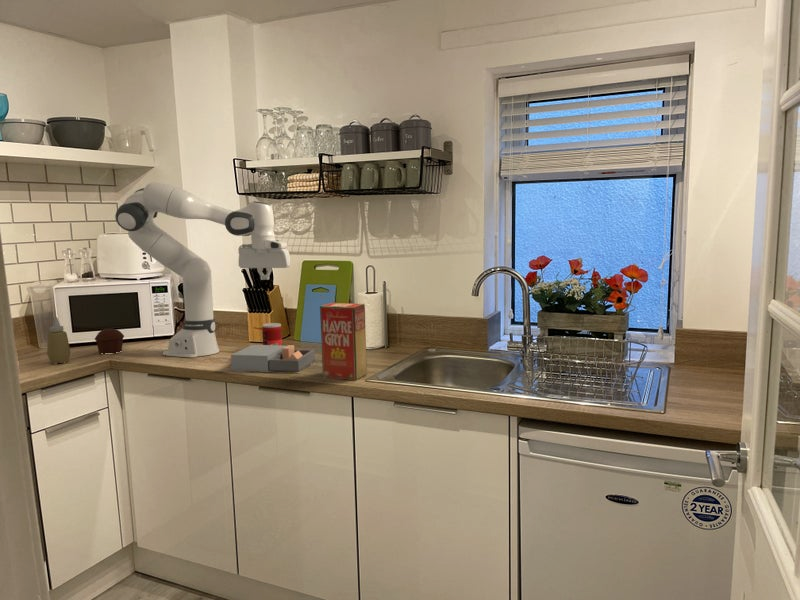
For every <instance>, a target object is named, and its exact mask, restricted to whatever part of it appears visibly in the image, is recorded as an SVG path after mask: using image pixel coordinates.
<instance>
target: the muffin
mask: <svg viewBox="0 0 800 600" xmlns="http://www.w3.org/2000/svg"><path fill="white" fill-rule="evenodd" d="M124 337H125V335H124V334H123V332H121V331H120V330H118V329H116V328H109V327H108V328H104V329H102V330H100V331H99V332H97V334H96V335H95V338H94V341H96V345H97V350H98V353H103V354H105V353H116V352H120V351H122V352H123V343H124ZM120 353H121V352H120Z"/></svg>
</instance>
